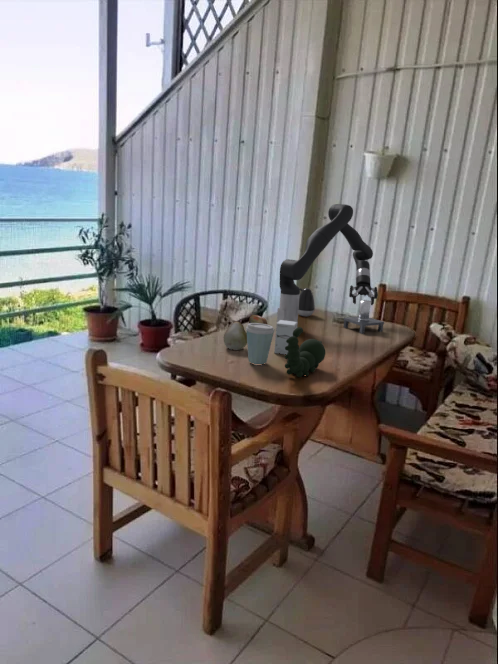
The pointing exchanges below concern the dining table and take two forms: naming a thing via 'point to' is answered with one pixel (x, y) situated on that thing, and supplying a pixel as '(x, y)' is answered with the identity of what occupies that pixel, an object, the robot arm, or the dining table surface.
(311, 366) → the toy figurine
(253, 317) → the tin
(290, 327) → the supplement box
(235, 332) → the fruit
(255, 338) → the disposable coffee cup
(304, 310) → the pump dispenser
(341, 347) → the dining table surface
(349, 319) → the stand
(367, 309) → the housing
